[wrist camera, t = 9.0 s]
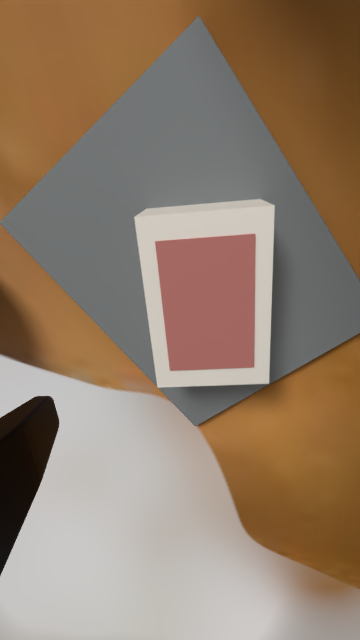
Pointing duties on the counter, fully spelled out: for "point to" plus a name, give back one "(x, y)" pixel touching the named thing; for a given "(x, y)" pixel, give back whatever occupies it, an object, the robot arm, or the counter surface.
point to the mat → (177, 190)
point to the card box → (208, 291)
